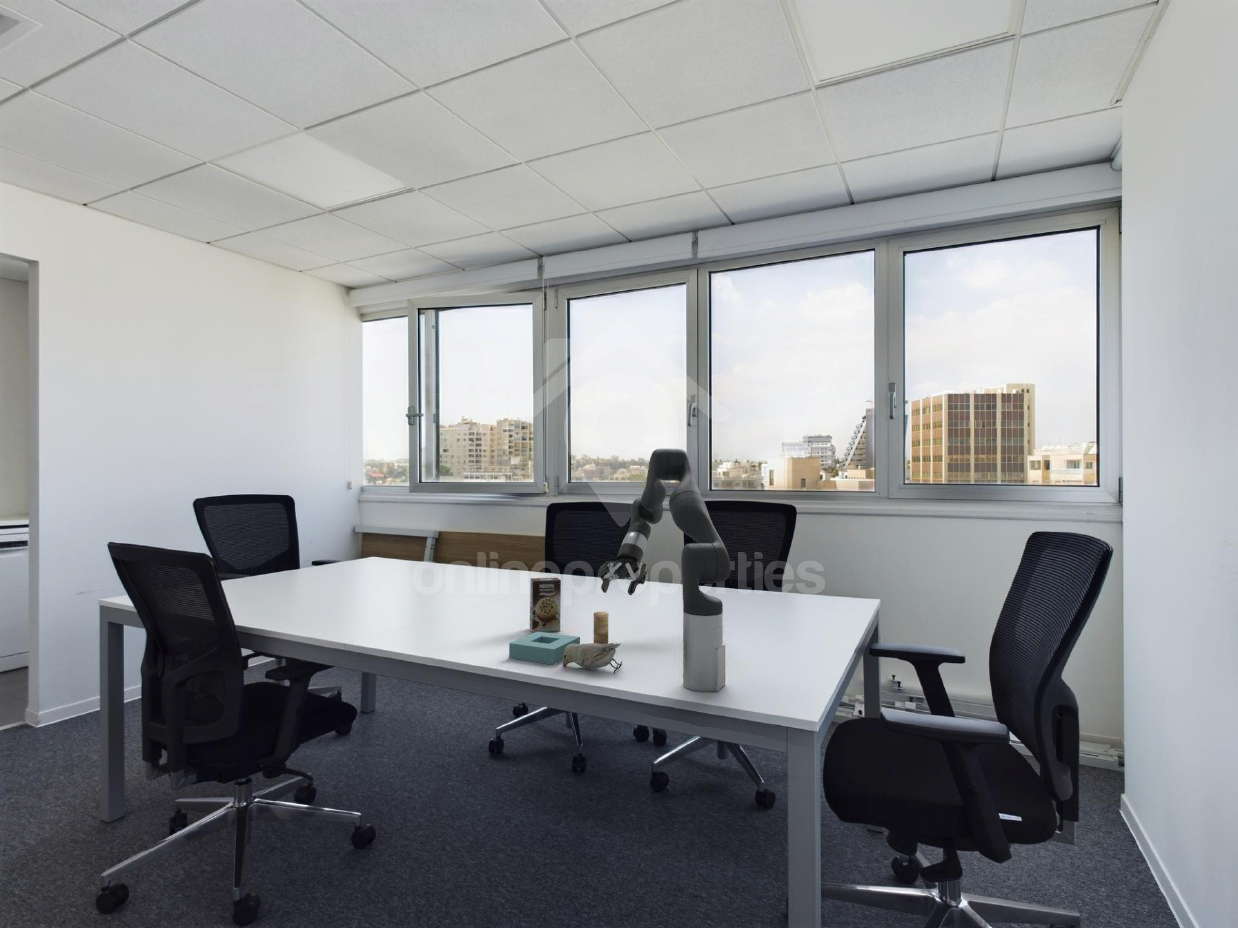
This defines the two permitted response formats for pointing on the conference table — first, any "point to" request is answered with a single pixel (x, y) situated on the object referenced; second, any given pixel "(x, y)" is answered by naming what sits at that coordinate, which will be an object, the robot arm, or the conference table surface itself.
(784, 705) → the conference table surface
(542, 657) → the socket block
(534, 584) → the coffee box
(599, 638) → the peg
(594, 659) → the decorative bird
